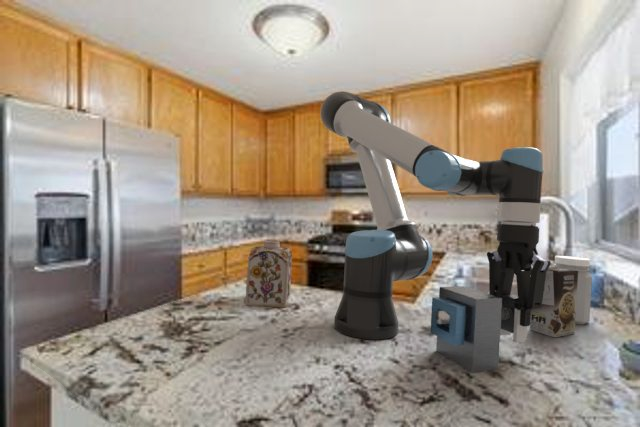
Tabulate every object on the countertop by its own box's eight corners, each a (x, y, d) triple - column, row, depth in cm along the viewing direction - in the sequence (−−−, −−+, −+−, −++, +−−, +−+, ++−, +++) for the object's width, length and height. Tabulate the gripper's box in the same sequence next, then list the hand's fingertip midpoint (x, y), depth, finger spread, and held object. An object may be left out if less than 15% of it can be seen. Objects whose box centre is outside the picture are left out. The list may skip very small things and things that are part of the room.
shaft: (443, 339, 65) (445, 301, 65) (432, 333, 67) (434, 297, 67) (524, 332, 71) (525, 298, 71) (511, 327, 74) (513, 294, 74)
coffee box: (555, 338, 84) (559, 271, 84) (528, 329, 90) (532, 266, 90) (576, 334, 88) (579, 270, 88) (549, 326, 94) (552, 266, 94)
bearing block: (472, 372, 63) (476, 299, 63) (436, 350, 72) (439, 286, 72) (498, 369, 65) (502, 298, 65) (459, 348, 74) (463, 286, 74)
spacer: (454, 345, 63) (457, 307, 63) (430, 332, 70) (432, 297, 70) (463, 344, 64) (465, 306, 64) (438, 331, 70) (440, 297, 70)
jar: (552, 321, 98) (556, 257, 98) (545, 312, 107) (548, 254, 107) (595, 327, 95) (599, 261, 94) (583, 318, 104) (587, 257, 103)
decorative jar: (286, 308, 97) (289, 244, 97) (244, 306, 98) (247, 241, 97) (290, 298, 109) (293, 240, 109) (253, 295, 109) (256, 238, 109)
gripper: (570, 226, 66) (563, 351, 66) (500, 222, 81) (494, 323, 81) (540, 225, 63) (533, 354, 63) (474, 221, 78) (468, 325, 79)
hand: (511, 337), depth 72 cm, fingers closed on shaft, 3 cm apart
